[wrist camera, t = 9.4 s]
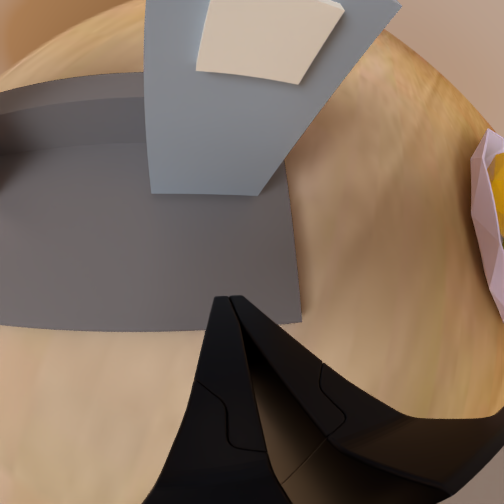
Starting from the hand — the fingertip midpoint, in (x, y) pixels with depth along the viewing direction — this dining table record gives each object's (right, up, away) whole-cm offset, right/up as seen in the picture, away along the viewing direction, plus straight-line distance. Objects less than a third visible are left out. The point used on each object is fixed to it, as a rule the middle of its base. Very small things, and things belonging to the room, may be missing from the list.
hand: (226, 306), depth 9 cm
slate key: (-2, +6, +7) cm, 10 cm away
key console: (-11, +4, +6) cm, 13 cm away
